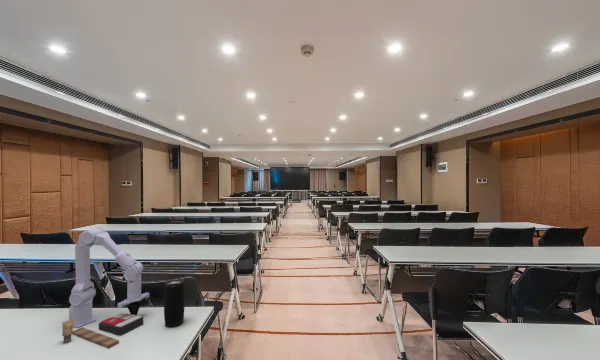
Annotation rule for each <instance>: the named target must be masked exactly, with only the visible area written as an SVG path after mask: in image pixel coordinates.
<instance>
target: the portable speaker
mask: <svg viewBox="0 0 600 360" xmlns="http://www.w3.org/2000/svg"><path fill="white" fill-rule="evenodd" d="M184 284H185V283H184V278H183V279H182V278H179V279H168V280H167V281H165V285H164V294H163V299H164V300H163V318H164V324H165V325H164V326H165V328H169V327H170V326H171V327H172V326H175V327H179V326H181V325H183V324H184V320H185V319H184V317H185V303H186V302H185V285H184Z"/></svg>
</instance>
